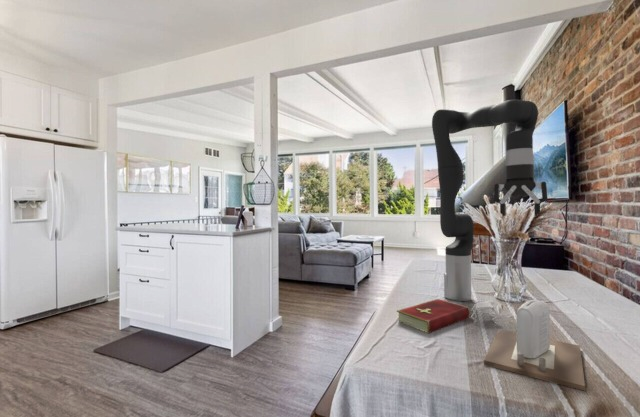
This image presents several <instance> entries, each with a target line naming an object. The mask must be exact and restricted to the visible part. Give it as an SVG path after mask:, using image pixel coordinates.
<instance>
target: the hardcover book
mask: <svg viewBox="0 0 640 417" xmlns="http://www.w3.org/2000/svg"><path fill="white" fill-rule="evenodd" d="M396 312H397V313H398V322H399V321H400V322H399V323H401V322H403V323H402V324H404V323H405V324H404V325H406V324H407V326H409V325H410V326H409V327H411V326H412V328H414V327H415V328H414V329H417V330H419V329H420V330H419V331H422V332H424V331H425V332H424V333H426V334H430V333H434V332H436V331H439V330H441V328H442V329H444V328H447V327H449V326H453V325H455V324H458V323H461V322H463V321H466V320H468V319H470V318H471V311H470V307H469V306H465V305H462V304H458V303H455V302H451V301H447V300H443V299H440V298H436V299H433V300H428V301H425V302H421V303H418V304H415V305H412V306H408V307H404V308H401V309H398V310H396Z"/></svg>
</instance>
